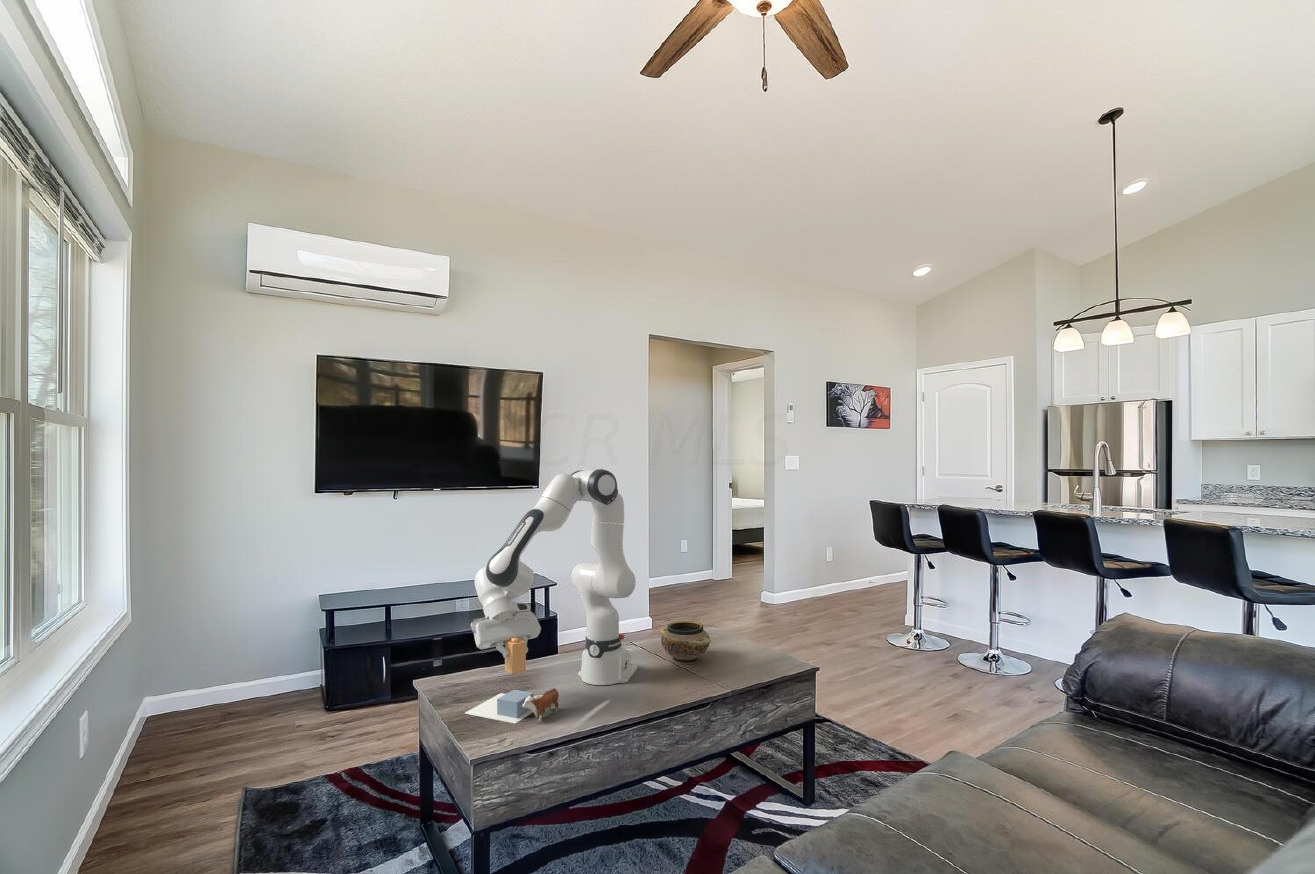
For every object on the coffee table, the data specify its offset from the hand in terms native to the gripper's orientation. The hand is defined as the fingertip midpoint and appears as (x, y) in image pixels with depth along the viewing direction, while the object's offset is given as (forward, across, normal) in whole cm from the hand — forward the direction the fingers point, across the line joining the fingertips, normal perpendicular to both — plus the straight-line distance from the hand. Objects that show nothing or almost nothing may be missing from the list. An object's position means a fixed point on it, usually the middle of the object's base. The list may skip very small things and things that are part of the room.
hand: (516, 654), depth 188 cm
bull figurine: (+18, +4, +8) cm, 20 cm away
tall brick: (+3, 0, +4) cm, 5 cm away
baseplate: (+9, 0, +16) cm, 18 cm away
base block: (+11, 0, +12) cm, 17 cm away
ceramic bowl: (+10, +72, +15) cm, 74 cm away
